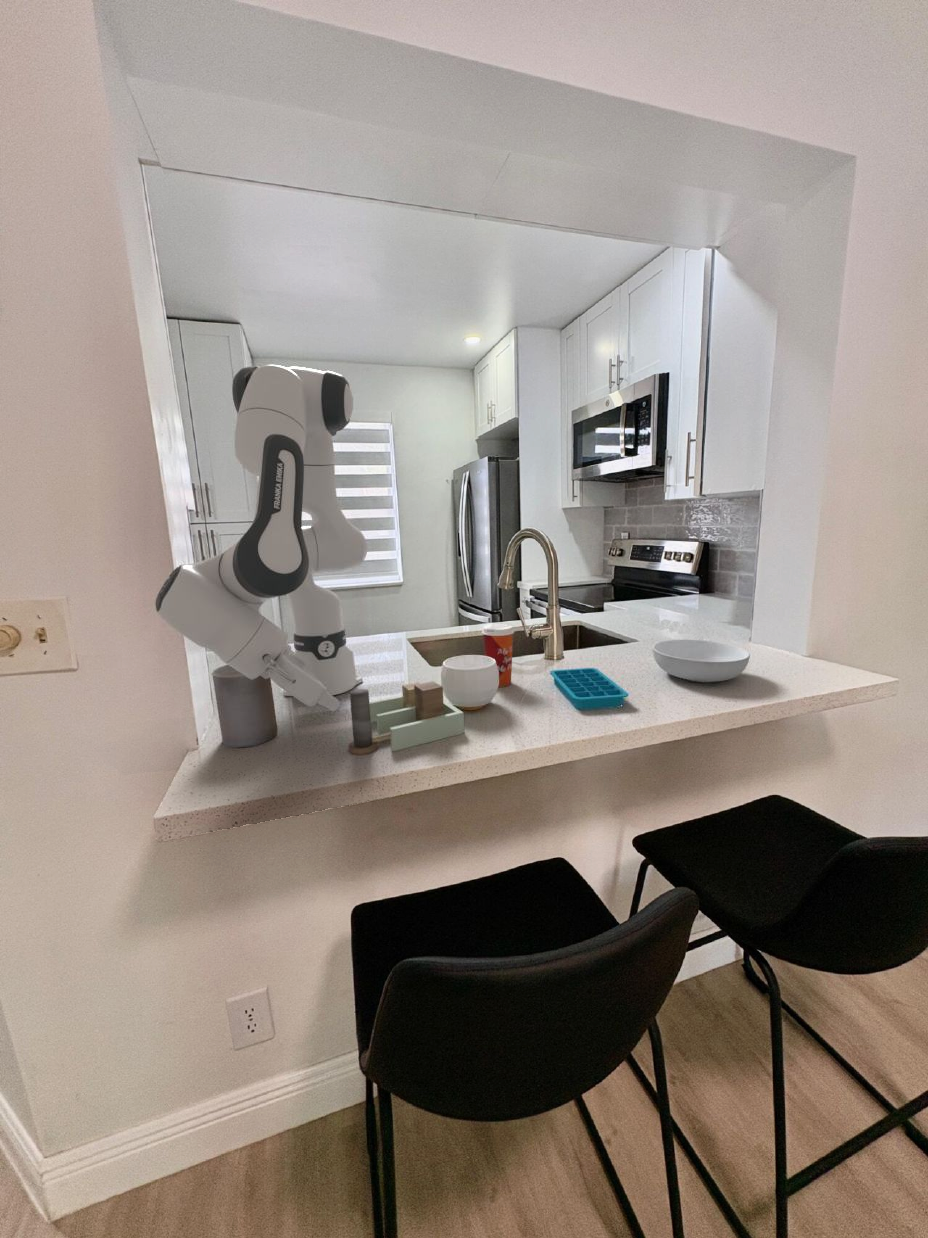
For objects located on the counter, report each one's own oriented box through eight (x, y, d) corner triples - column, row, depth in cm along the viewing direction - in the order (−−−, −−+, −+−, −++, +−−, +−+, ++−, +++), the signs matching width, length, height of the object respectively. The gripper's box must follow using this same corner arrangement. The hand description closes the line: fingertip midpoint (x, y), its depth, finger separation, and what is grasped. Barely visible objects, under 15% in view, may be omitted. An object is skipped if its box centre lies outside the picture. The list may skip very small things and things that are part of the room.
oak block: (404, 718, 100) (402, 685, 99) (420, 714, 102) (418, 682, 101) (410, 724, 97) (408, 690, 96) (427, 720, 99) (425, 686, 98)
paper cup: (506, 690, 115) (505, 631, 112) (477, 685, 119) (475, 628, 116) (520, 680, 121) (519, 624, 118) (493, 676, 125) (491, 622, 123)
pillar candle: (261, 722, 101) (252, 651, 98) (287, 734, 94) (277, 658, 92) (213, 740, 94) (200, 663, 91) (237, 754, 87) (225, 672, 84)
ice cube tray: (575, 713, 100) (575, 699, 100) (548, 682, 120) (548, 670, 120) (630, 709, 101) (630, 695, 101) (595, 679, 121) (595, 667, 121)
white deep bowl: (448, 694, 113) (446, 653, 111) (502, 696, 111) (501, 654, 109) (436, 715, 101) (434, 670, 99) (496, 717, 99) (495, 670, 97)
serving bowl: (727, 698, 105) (729, 666, 104) (635, 678, 120) (636, 650, 119) (761, 675, 119) (763, 647, 117) (675, 660, 134) (676, 635, 133)
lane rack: (365, 722, 99) (364, 703, 98) (429, 707, 106) (428, 689, 105) (393, 751, 86) (391, 729, 85) (464, 732, 92) (463, 712, 91)
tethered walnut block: (345, 746, 88) (340, 690, 86) (434, 724, 97) (431, 673, 95) (353, 757, 84) (348, 699, 82) (446, 733, 92) (443, 680, 90)
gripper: (284, 647, 68) (359, 700, 75) (265, 624, 86) (327, 669, 92) (253, 683, 67) (332, 735, 73) (240, 653, 85) (305, 696, 91)
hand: (329, 698), depth 83 cm, fingers open, 8 cm apart
